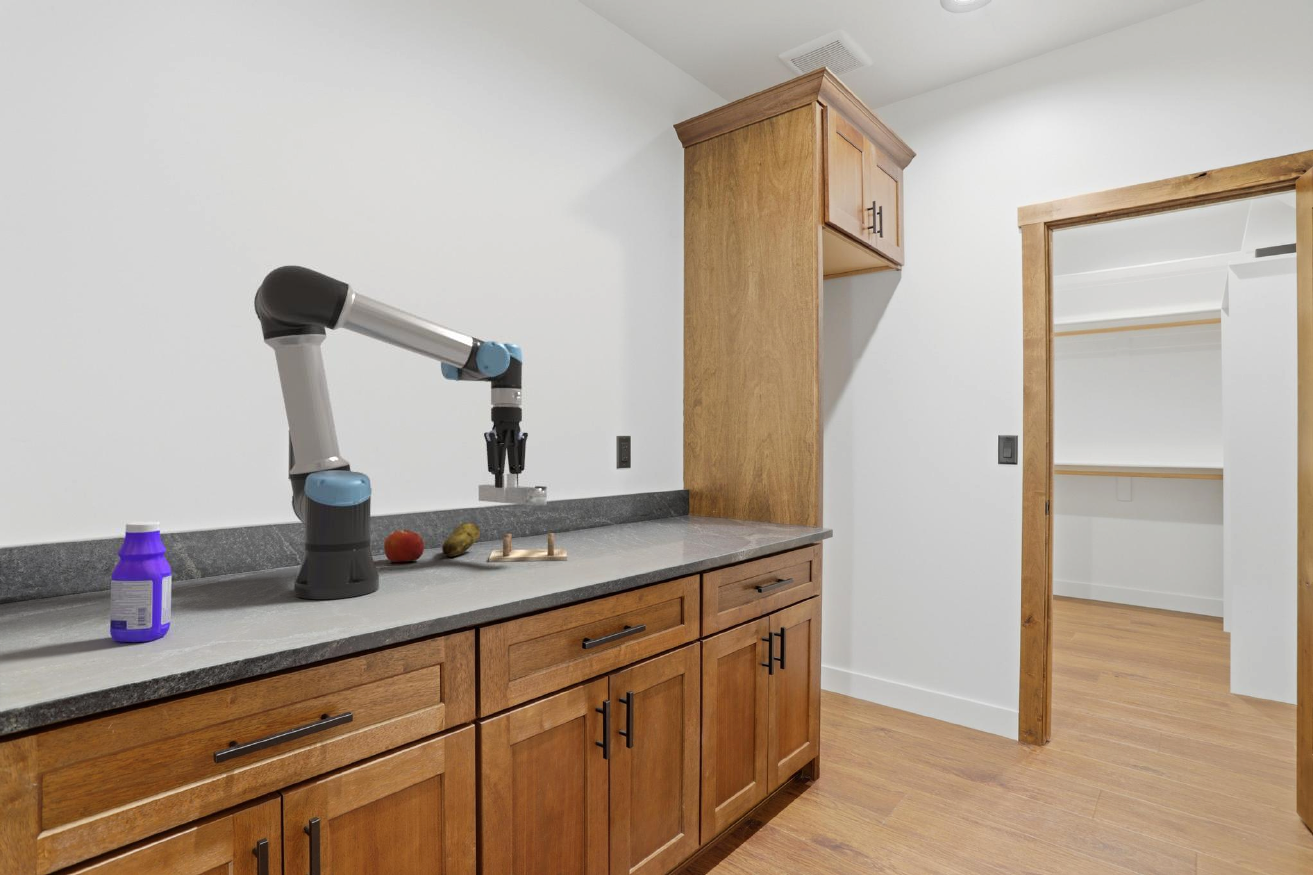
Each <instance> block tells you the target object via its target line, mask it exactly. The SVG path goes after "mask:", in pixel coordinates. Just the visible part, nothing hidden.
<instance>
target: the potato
mask: <svg viewBox="0 0 1313 875" xmlns="http://www.w3.org/2000/svg"><path fill="white" fill-rule="evenodd" d="M480 534H481V529H480V527H479V525H477V524H476V523H473V522H464V523H461V524H459V525H458V526H456V527H455V529H453V531H452V533H451V534H450V535H449V537H448V538H446V539H445V540H444V542H443V543H442V546H441V547H442V548H441V551H442V554H443V556H445V557H448V558H452V557H453V558H454V557H456V556H458V555H462V554H464V553H465V552H466V551H468V550H469V549H470V548H471V547H472V546H473V545H474V544H477V543H478V540H479V538H480Z"/></svg>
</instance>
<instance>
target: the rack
mask: <svg viewBox="0 0 1313 875" xmlns="http://www.w3.org/2000/svg"><path fill="white" fill-rule="evenodd" d="M544 561H545V562H550V561H568V554H567V549H566V548H560V549H559V548H557V549H555V533H553V532H550V533H549V532H548V533H547V549H512V533H505V534H504V537H502V549H501V550H500V549H498V550H497V549H495V550H494V549H493V550H492V551H491V554H490V555H489V557H488V562H489V563H495V562H497V563H499V562H501V563H503V562H505V563H507V562H544Z"/></svg>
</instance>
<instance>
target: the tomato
mask: <svg viewBox="0 0 1313 875" xmlns="http://www.w3.org/2000/svg"><path fill="white" fill-rule="evenodd" d="M383 547H384V553H385V556H386V558H387V560H390V561H391V562H394V563H407V562H411V561H412V562H413V561H417V560H419V559H420V558H421V557H422V555H423V553H424V551H425V550H424V549H425V542H424V539H423V537H422V536H421V535H420V534H418V533H416V532H414V531H412V530H411V529H396V530H395V531H394V532H393V533H391V534H389V535H388V536H387V537H386V538H385V540H384V542H383Z"/></svg>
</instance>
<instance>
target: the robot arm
mask: <svg viewBox="0 0 1313 875" xmlns="http://www.w3.org/2000/svg"><path fill="white" fill-rule="evenodd" d="M253 303H254V311H255V314H256V316H257V318H258V320H259V322H260V327H261V331H262V336H263V342H264V343H265V344H266V345H267V346H269V347H270V348H272V349H273V351H274V355H275V360H276V365H277V370H278V376H279V382H280V386H281V393H282V397H283V402H284V408H285V412H286V418H287V424H288V428H289V434H290V439H291V444H292V450H293V454H294V455H293V456H294V461H295V463H294V465H293V467H292V468H291V469H290V471H289V472H288V473H289V479H290V484H291V490H292V496H291V498H292V499H291V506H292V510H293V513H294V515H295V516H296V518H298V520H299V521H300V522H301V523H302V524H303V525H304V555H303V557H302V561H301V563H300V567H299V569H298V572H297V575H296V578H295V580H294V585H293V586H294V587H293V595H294V596H295V597H297V598H302V599H305V600H306V599H307V600H333V599H344V598H345V599H346V598H351V597H358V596H363V595H368V594H370V593H373V592H376V591H377V590H379V588H380V577H379V576H380V575H379V573H378V569H377V567H376V564H375V561H374V558H373V554H372V551H371V506H372V504H371V501H372V500H371V498H372V496H371V495H372V487H371V486H372V485H371V479H370V477H369V476H368V474H365V473H363V472H359V471H352V470H351V464H350V462H349V461H348V460H347V459H345V458H343V457H342V456H341V453H340V448H339V443H338V442H339V441H338V436H337V430H336V426H335V421H334V415H333V409H332V405H331V404H332V403H331V399H330V393H329V392H330V391H329V388H328V381H327V377H326V370H325V367H324V366H325V365H324V360H323V354H322V349H321V345H322V343H323V342H324V341H325V340H326V339H327V332H326V329H330V330H332V331H335V330H337V329H339V328H340V329H345V330H348V331H351V332H354V333H356V334H359V335H362V336H365V337H369V338H371V339H374V340H377V341H380V342H383V343H386V344H388V345H391V346H395V347H398V348H400V349H403V350H407V351H409V352H411V353H413V354H414V353H415V354H418V355H421V356H424V357H427V358H428V359H429V358H430V359H433V360H436V361H438V362H440V371H441V374H442V376H443V378H444V379H446V380H448V381H449V380H451V381H456V382H459V381H462V382H463V381H465V382H487V383H488V382H490V404H491V405H492V406H493V407H491V409H490V420H491V422H492V423H493V424H492V427H491V430H490V431H489V432H488V431H486V432H484V433H483V437H484V440H485V443H486V444H485V445H486V459H487V461H486V462H487V471H488V472H489V473H491V474H492V475H494V485H495V488H496V501H506V487H507V486H519V474H522V472H524V470H525V467H526V465H525V464H526V448H527V439H528V437H529V433H528V432H524V431H522V430H521V426H520V423H521V422H522V421H523V409H522V408H521V405H522V398H523V397H522V396H523V395H522V393H523V392H522V389H523V388H522V387H523V386H522V384H523V383H522V380H523V379H522V378H523V375H522V374H523V372H522V371H523V356H522V349H521V347H520V346H519V345H518V344H515V343H501V342H498V341H491V340H490V341H484V340H481V339H479V338H476V337H473V336H470V335H469V334H465V333H462V332H460V331H458V330H455V329H452V328H450V327H447V326H444V325H442V324H440V323H436V322H434V321H431V320H429V319H425V318H423V317H421V316H418V315H416V314H413V313H411V312H408V311H405V310H403V309H400V308H398V307H395V306H393V305H389V304H387V303H384V302H382V301H379V300H377V299H374V298H371V297H368V296H367V295H364V294H361V293H358V292H356V291H354V290H353V288H352V286H351V284H349V283H346V282H344V281H341V280H338V279H337V278H334V277H331V276H328V275H326V274H324V273H322V272H319V271H315V270H313V269H311V268H308V267H305V266H300V265H282V266H280V267H279V266H278V267H277V268H275V269H273V270H272V271H270V272H269V273H268V274H267V275H266V276H265V277H264V279H263V280H262V283H261V284H260V285H259V287H258V289H257V290H256V293H255V296H254V301H253ZM506 458H507V462H508V463H507V464H508V472H509V473H506V474H505V467H506V466H505V465H506Z"/></svg>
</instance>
